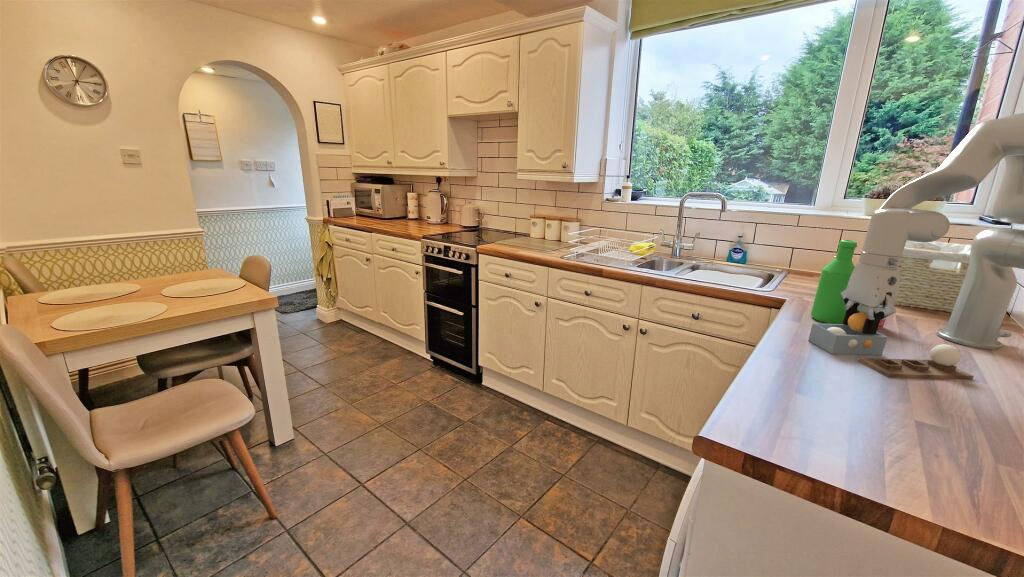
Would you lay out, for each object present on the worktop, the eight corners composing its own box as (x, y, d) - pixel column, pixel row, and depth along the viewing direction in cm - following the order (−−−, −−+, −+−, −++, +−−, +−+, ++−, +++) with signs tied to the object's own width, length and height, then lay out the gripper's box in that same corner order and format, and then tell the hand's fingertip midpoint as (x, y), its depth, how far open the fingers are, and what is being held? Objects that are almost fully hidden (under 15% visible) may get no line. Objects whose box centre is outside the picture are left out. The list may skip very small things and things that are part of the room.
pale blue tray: (855, 341, 113) (860, 324, 111) (882, 355, 105) (888, 337, 103) (808, 340, 112) (812, 323, 111) (832, 354, 104) (837, 335, 103)
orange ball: (858, 328, 110) (864, 310, 108) (875, 335, 105) (881, 317, 103) (840, 327, 109) (845, 309, 108) (856, 335, 105) (861, 316, 103)
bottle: (850, 326, 124) (874, 244, 117) (818, 323, 126) (840, 242, 119) (835, 316, 132) (856, 239, 125) (804, 314, 134) (824, 237, 127)
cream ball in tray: (834, 341, 111) (839, 324, 109) (849, 349, 106) (854, 331, 104) (816, 341, 110) (820, 323, 109) (830, 349, 106) (835, 331, 104)
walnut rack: (936, 362, 101) (939, 356, 101) (972, 379, 94) (975, 371, 93) (858, 361, 101) (860, 354, 100) (887, 377, 93) (890, 370, 92)
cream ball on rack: (941, 360, 100) (948, 341, 98) (963, 370, 95) (971, 350, 93) (921, 359, 99) (927, 340, 98) (942, 369, 95) (950, 349, 93)
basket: (986, 320, 136) (1011, 255, 130) (881, 304, 148) (899, 244, 142) (954, 299, 158) (974, 243, 152) (865, 287, 171) (880, 235, 165)
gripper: (928, 269, 94) (903, 343, 99) (864, 254, 110) (845, 317, 115) (896, 268, 94) (873, 342, 99) (837, 253, 110) (819, 317, 115)
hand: (858, 328), depth 107 cm, fingers open, 5 cm apart
